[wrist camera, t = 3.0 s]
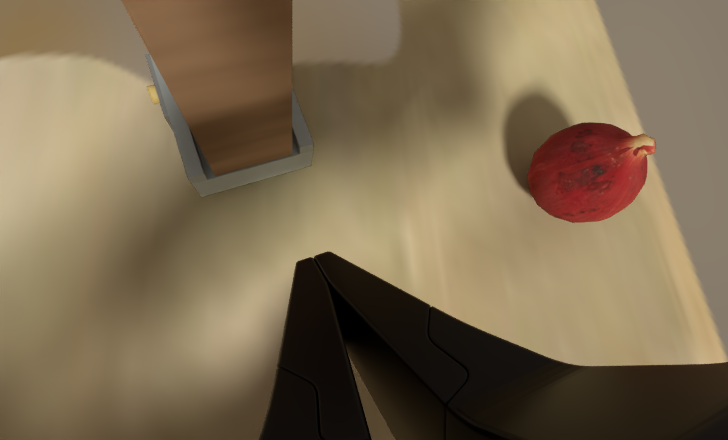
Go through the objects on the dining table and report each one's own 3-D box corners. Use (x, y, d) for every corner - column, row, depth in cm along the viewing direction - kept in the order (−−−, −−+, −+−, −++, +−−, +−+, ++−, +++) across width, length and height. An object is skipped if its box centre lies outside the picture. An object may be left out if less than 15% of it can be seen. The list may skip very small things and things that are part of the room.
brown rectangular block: (292, 154, 19) (291, -93, 8) (215, 176, 18) (83, -71, 7) (261, 70, 20) (219, -265, 9) (185, 86, 19) (25, -268, 8)
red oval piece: (532, 248, 25) (637, 217, 17) (489, 172, 26) (571, 110, 18) (596, 214, 26) (719, 172, 19) (553, 143, 27) (654, 75, 20)
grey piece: (325, 173, 24) (334, 134, 19) (190, 213, 22) (160, 181, 17) (255, -10, 26) (247, -88, 21) (128, 10, 24) (86, -71, 19)
